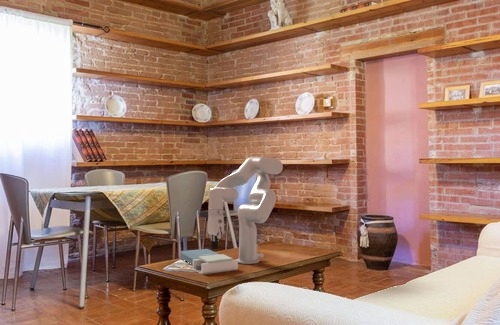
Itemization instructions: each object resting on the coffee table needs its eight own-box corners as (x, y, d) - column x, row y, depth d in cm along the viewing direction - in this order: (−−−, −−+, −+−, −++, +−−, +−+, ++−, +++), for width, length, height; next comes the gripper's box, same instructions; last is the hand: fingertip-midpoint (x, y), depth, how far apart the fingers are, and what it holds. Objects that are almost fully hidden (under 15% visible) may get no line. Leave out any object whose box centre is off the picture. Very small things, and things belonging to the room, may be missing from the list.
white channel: (227, 265, 251) (227, 255, 251) (237, 269, 242) (238, 260, 242) (192, 269, 241) (192, 259, 241) (202, 274, 231) (202, 264, 231)
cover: (222, 255, 249) (222, 254, 249) (232, 260, 240) (232, 258, 240) (198, 258, 242) (198, 256, 242) (207, 263, 233) (208, 261, 233)
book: (224, 265, 252) (224, 256, 252) (195, 268, 245) (196, 259, 245) (207, 257, 272) (207, 248, 272) (180, 260, 265) (180, 251, 264)
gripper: (229, 213, 236) (228, 250, 236) (215, 210, 249) (213, 246, 249) (216, 214, 232) (214, 251, 232) (202, 211, 245) (201, 246, 245)
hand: (214, 248), depth 240 cm, fingers closed
